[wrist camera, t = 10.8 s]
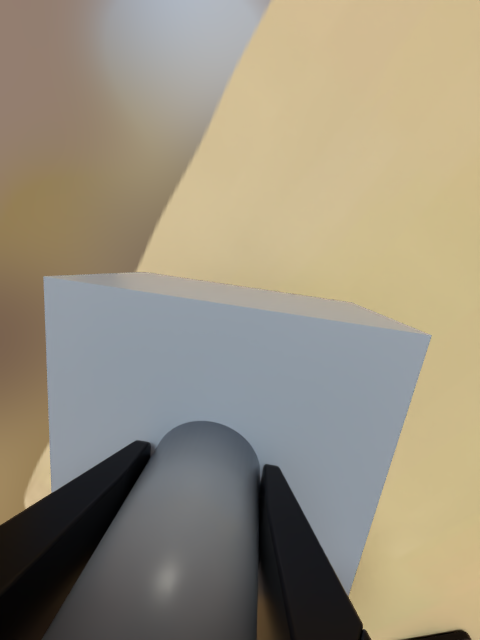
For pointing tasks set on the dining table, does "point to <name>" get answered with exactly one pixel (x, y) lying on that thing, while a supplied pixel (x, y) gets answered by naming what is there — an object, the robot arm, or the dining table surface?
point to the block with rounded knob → (215, 438)
